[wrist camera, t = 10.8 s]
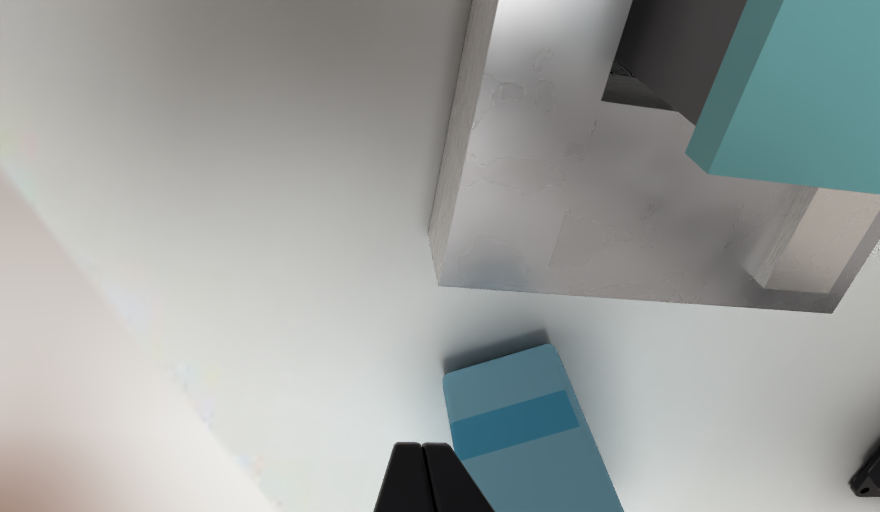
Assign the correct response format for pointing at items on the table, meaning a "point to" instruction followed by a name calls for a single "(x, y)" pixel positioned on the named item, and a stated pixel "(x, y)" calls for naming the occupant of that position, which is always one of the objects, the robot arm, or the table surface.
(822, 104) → the plug
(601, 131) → the faceplate
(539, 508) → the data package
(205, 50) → the table surface
